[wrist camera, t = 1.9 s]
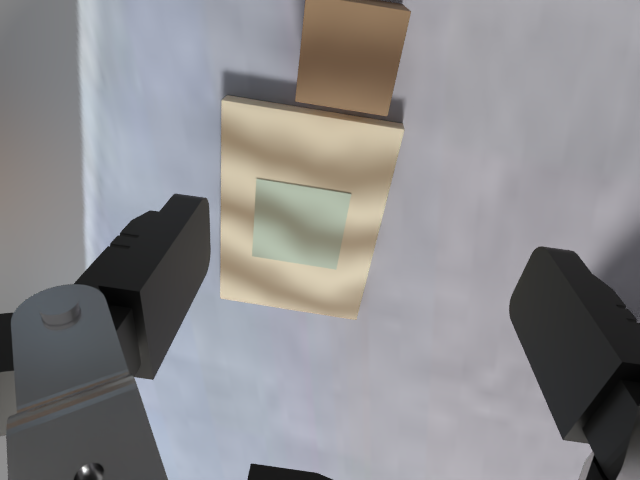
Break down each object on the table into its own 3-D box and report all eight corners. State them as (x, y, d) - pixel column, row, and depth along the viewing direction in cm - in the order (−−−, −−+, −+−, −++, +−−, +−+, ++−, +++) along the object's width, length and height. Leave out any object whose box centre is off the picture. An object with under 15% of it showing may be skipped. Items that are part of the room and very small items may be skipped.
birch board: (226, 95, 33) (221, 100, 32) (402, 123, 33) (404, 130, 32) (224, 289, 44) (220, 299, 43) (356, 310, 44) (356, 320, 43)
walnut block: (315, -11, 29) (306, -6, 24) (402, 4, 29) (410, 11, 24) (305, 80, 32) (295, 101, 27) (383, 93, 32) (387, 116, 27)
